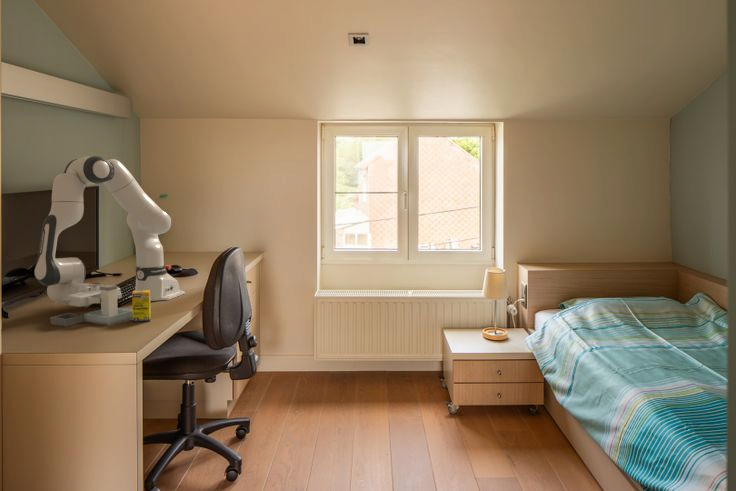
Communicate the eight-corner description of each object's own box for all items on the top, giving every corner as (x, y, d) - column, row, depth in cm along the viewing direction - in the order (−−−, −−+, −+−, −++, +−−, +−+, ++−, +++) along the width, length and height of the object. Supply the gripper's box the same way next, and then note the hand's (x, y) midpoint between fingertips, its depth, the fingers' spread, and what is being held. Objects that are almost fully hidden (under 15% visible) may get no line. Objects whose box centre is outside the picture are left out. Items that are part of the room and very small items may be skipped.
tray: (110, 314, 241) (110, 307, 240) (134, 318, 236) (134, 310, 235) (84, 321, 230) (84, 313, 229) (108, 325, 225) (108, 317, 224)
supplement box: (132, 322, 229) (131, 293, 228) (134, 318, 235) (133, 290, 233) (150, 321, 231) (149, 292, 229) (151, 317, 236) (150, 289, 235)
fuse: (110, 315, 235) (108, 284, 234) (118, 317, 234) (117, 285, 232) (101, 318, 232) (99, 286, 230) (109, 319, 230) (108, 287, 228)
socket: (77, 317, 236) (76, 310, 236) (92, 319, 233) (92, 313, 233) (50, 324, 226) (50, 317, 225) (66, 326, 222) (65, 319, 222)
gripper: (59, 291, 227) (86, 295, 221) (104, 282, 246) (130, 285, 240) (60, 308, 228) (87, 312, 222) (105, 297, 246) (131, 301, 241)
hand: (110, 298), depth 231 cm, fingers open, 8 cm apart
